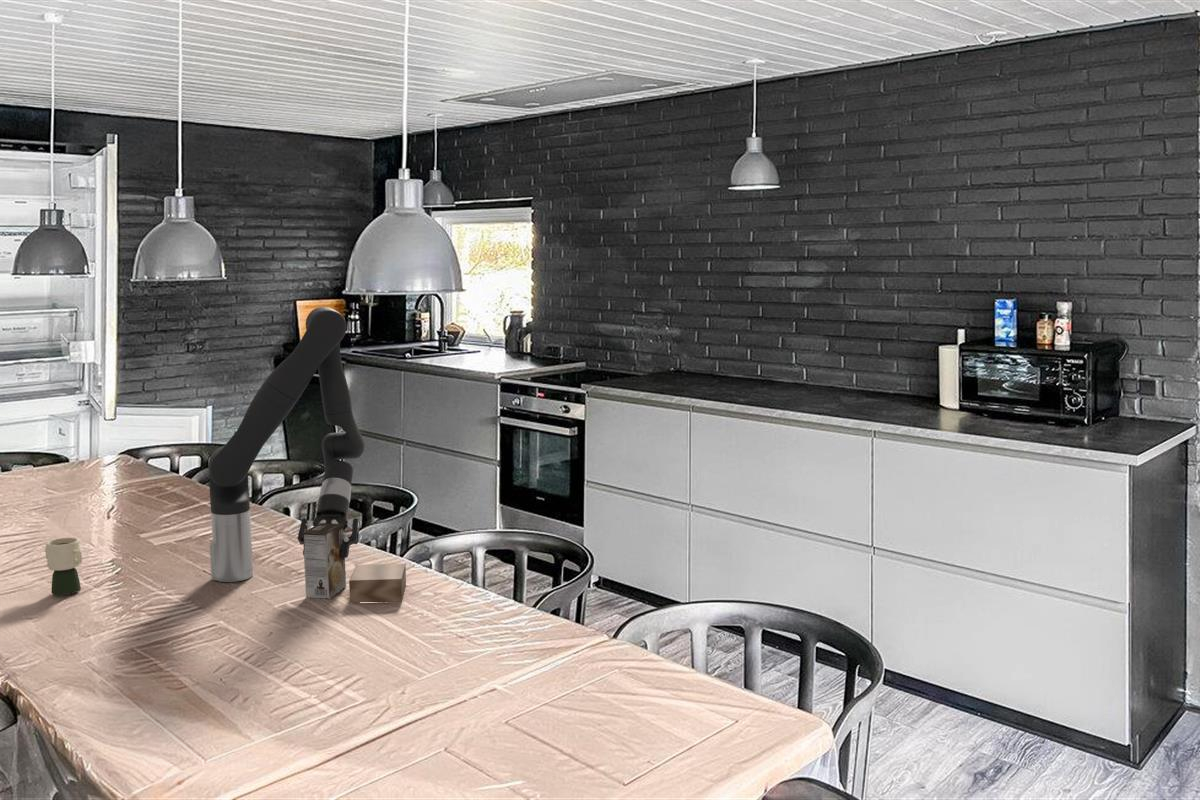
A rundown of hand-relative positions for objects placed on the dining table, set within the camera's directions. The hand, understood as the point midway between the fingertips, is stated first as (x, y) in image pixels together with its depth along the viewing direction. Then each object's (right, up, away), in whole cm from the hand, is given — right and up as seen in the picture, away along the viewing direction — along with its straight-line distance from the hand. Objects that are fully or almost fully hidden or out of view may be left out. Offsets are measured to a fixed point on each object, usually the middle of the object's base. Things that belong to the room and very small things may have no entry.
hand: (325, 558), depth 250 cm
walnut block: (+13, -9, 0) cm, 16 cm away
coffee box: (0, -9, +1) cm, 9 cm away
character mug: (-62, -9, 0) cm, 63 cm away
